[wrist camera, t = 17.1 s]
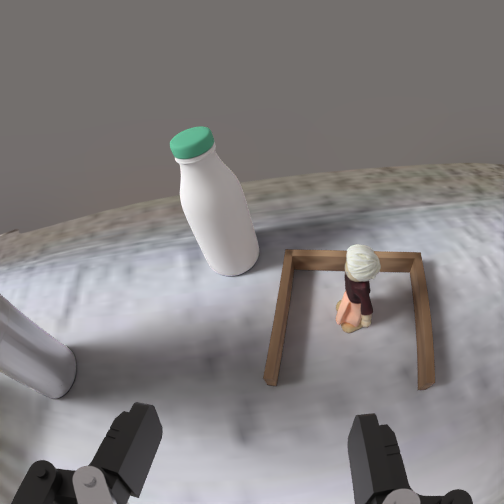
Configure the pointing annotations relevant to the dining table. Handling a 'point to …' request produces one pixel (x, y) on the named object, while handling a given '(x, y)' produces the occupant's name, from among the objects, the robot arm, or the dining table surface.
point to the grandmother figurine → (357, 288)
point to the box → (336, 262)
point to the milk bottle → (214, 204)
